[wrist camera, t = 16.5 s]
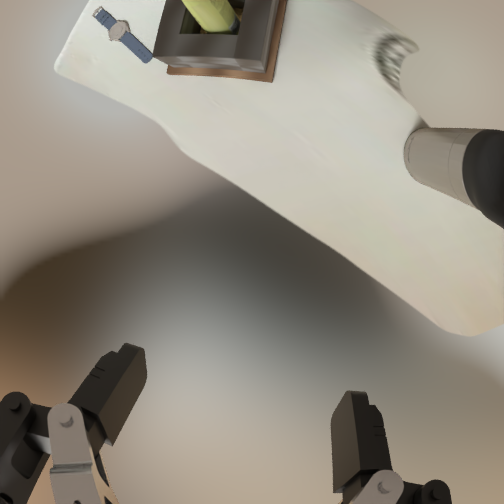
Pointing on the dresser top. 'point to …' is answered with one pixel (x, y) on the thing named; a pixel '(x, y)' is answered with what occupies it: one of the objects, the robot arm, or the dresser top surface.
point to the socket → (222, 42)
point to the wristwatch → (122, 35)
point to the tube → (214, 16)
